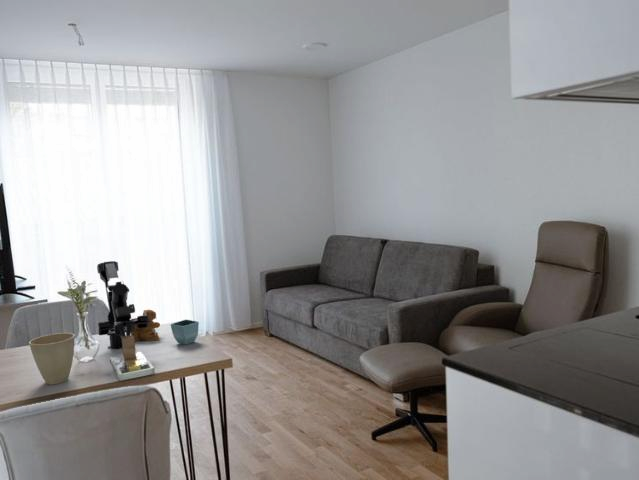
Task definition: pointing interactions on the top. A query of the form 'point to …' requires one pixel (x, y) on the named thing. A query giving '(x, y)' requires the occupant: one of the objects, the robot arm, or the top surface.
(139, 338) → the stuffed squirrel
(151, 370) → the tray
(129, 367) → the yellow small block
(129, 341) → the brown block
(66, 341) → the plant pot
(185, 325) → the flower pot
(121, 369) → the slot bed
